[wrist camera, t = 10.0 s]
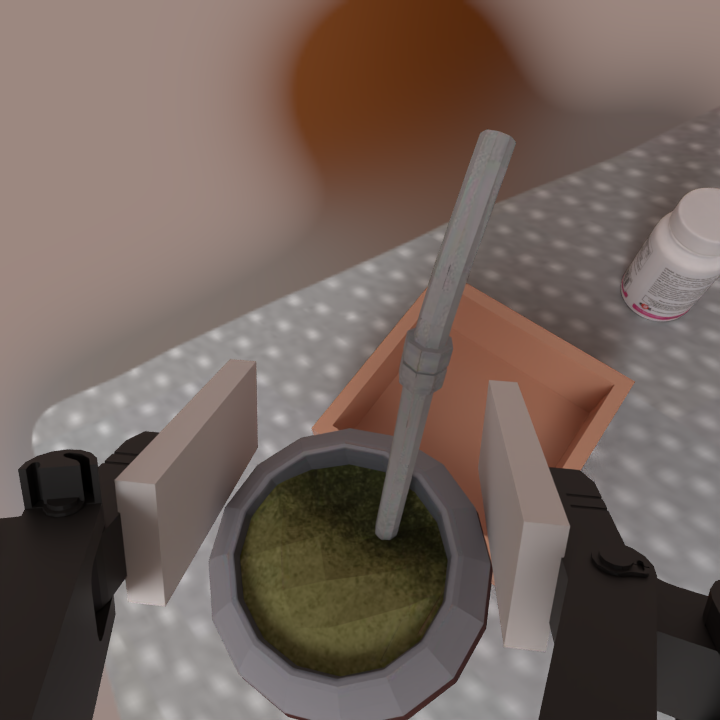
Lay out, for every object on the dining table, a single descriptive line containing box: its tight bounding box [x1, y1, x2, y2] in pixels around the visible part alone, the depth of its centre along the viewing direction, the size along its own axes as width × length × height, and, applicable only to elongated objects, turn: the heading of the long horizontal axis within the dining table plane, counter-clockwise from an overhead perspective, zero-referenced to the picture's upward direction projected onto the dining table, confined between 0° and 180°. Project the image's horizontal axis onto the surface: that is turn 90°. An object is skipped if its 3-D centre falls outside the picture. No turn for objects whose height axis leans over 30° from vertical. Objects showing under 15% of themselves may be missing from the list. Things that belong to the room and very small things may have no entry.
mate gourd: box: [209, 130, 516, 720], centre depth 13 cm, size 8×8×15 cm
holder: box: [312, 283, 635, 586], centre depth 35 cm, size 13×13×6 cm
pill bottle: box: [621, 188, 720, 321], centre depth 37 cm, size 5×5×8 cm
